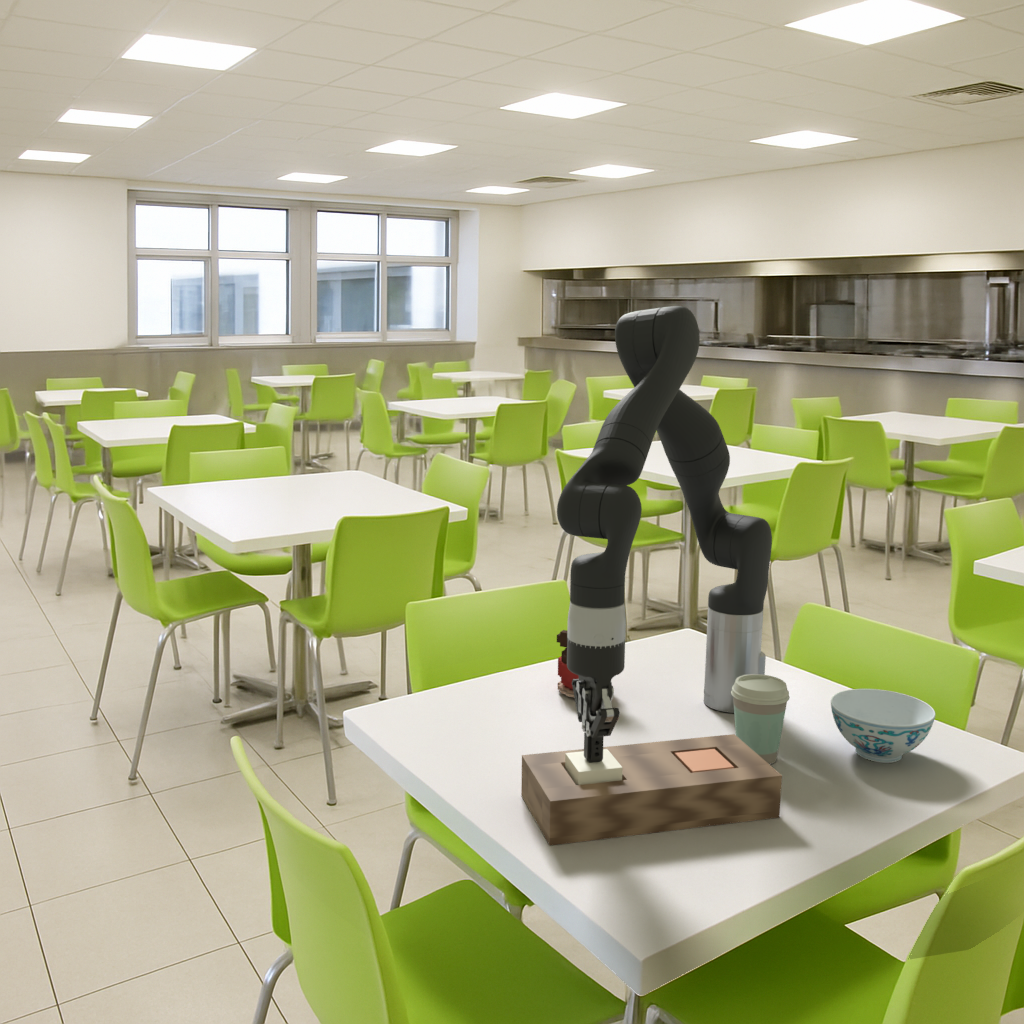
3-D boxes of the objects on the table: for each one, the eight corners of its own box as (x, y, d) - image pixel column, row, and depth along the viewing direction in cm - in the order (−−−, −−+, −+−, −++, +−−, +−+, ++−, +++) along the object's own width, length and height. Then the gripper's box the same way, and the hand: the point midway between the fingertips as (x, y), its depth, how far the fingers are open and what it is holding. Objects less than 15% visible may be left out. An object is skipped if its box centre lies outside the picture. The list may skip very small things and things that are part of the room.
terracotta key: (713, 775, 143) (714, 748, 143) (732, 794, 138) (733, 766, 137) (673, 779, 142) (674, 752, 141) (691, 799, 136) (692, 771, 135)
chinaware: (950, 758, 154) (955, 710, 153) (894, 784, 145) (898, 733, 144) (864, 726, 166) (867, 682, 165) (807, 749, 157) (810, 702, 156)
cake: (545, 695, 179) (547, 596, 175) (568, 679, 187) (570, 584, 184) (601, 706, 174) (603, 605, 170) (622, 689, 182) (625, 592, 178)
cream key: (606, 776, 139) (607, 748, 138) (621, 795, 133) (622, 767, 133) (564, 780, 138) (565, 753, 137) (578, 800, 132) (578, 772, 131)
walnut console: (732, 772, 149) (734, 734, 148) (779, 817, 135) (782, 775, 134) (521, 795, 141) (521, 755, 140) (549, 845, 128) (550, 801, 127)
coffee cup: (787, 750, 157) (792, 676, 154) (783, 773, 149) (788, 695, 146) (731, 742, 159) (735, 669, 157) (724, 764, 151) (728, 688, 149)
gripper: (642, 648, 126) (637, 778, 129) (606, 618, 139) (603, 737, 142) (584, 653, 124) (581, 784, 128) (554, 622, 137) (552, 742, 140)
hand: (593, 759), depth 135 cm, fingers closed
